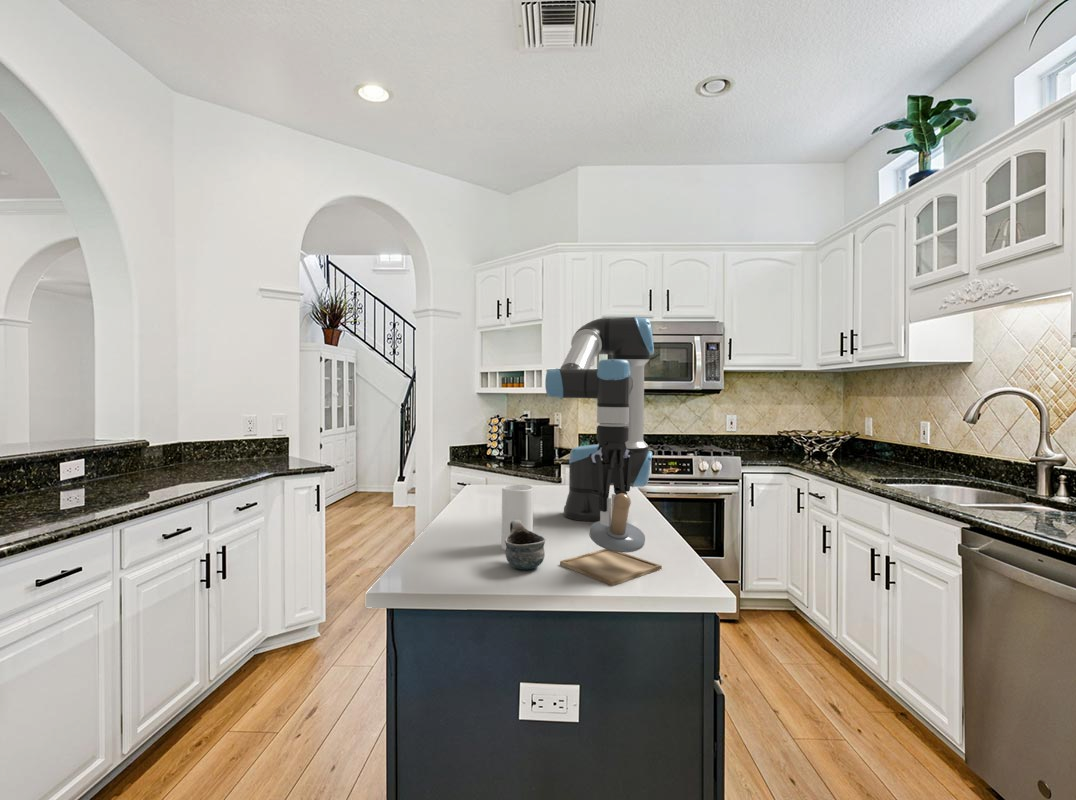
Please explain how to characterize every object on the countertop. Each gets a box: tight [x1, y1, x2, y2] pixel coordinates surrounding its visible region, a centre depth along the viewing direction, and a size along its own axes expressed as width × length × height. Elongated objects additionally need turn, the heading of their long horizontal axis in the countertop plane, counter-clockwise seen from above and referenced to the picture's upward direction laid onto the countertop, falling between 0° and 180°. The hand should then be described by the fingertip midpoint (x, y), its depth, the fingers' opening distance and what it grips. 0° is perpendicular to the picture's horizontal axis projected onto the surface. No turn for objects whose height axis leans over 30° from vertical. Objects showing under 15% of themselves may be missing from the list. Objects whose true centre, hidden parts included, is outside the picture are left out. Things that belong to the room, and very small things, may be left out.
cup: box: [501, 484, 534, 551], centre depth 143 cm, size 8×8×16 cm
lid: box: [588, 493, 646, 554], centre depth 126 cm, size 13×13×11 cm
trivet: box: [559, 548, 663, 587], centre depth 129 cm, size 17×17×1 cm
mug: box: [505, 520, 547, 570], centre depth 129 cm, size 10×12×10 cm
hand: (611, 523), depth 128 cm, fingers closed on lid, 3 cm apart
